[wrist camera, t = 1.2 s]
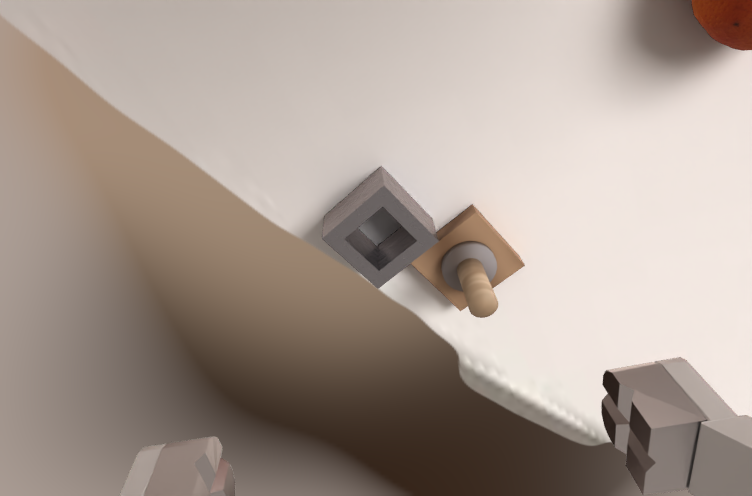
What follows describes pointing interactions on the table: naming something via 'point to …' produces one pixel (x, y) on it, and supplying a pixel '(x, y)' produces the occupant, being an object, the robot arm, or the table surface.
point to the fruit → (726, 21)
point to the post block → (469, 262)
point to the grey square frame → (396, 248)
